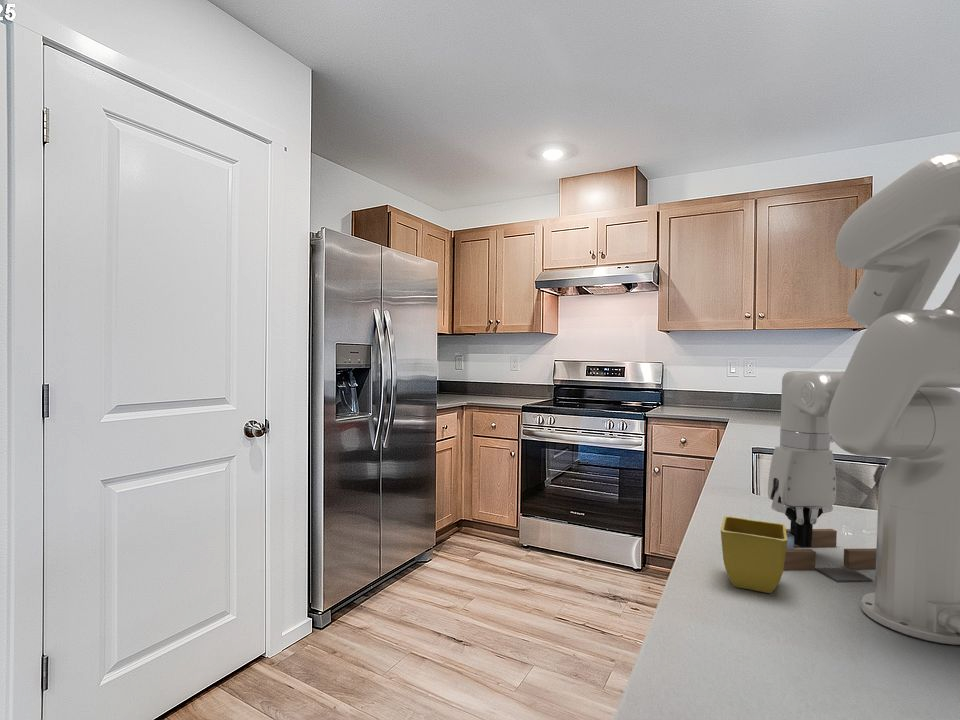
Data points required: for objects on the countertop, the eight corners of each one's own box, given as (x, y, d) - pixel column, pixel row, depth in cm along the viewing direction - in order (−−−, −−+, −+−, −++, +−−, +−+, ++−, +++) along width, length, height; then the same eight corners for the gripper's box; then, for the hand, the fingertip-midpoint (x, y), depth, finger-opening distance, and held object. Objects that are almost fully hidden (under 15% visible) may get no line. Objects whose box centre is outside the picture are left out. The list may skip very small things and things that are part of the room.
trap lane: (907, 580, 86) (908, 555, 86) (782, 582, 84) (782, 557, 84) (813, 536, 107) (814, 515, 107) (711, 536, 105) (711, 516, 104)
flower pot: (718, 589, 81) (720, 529, 81) (722, 569, 89) (723, 514, 88) (785, 603, 77) (787, 540, 77) (783, 581, 84) (785, 524, 84)
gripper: (828, 438, 99) (825, 537, 100) (751, 437, 98) (748, 537, 98) (860, 445, 92) (857, 552, 92) (777, 444, 91) (774, 552, 91)
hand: (800, 544), depth 95 cm, fingers closed
